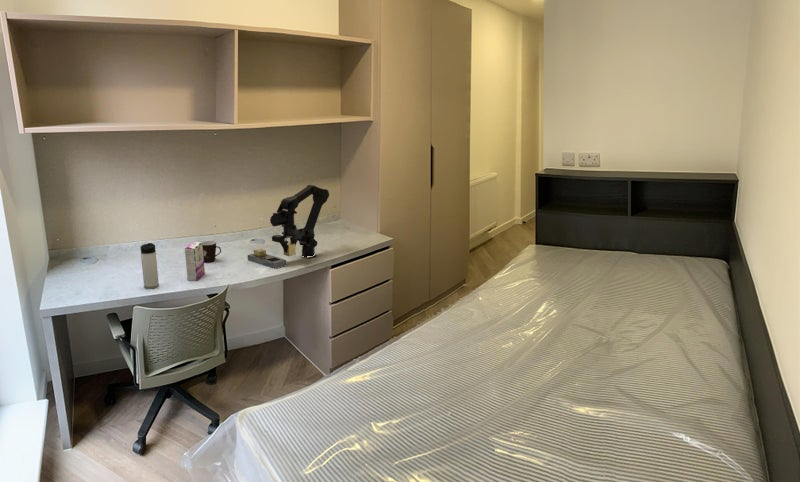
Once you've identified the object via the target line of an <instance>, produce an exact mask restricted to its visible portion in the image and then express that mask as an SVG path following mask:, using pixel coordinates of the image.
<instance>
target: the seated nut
mask: <svg viewBox="0 0 800 482" xmlns="http://www.w3.org/2000/svg"><path fill="white" fill-rule="evenodd" d="M253 253H254V256H256V257H263V256H266V254H267V249H263V248H258V249H253Z"/></svg>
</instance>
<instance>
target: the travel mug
mask: <svg viewBox="0 0 800 482" xmlns="http://www.w3.org/2000/svg"><path fill="white" fill-rule="evenodd" d="M139 247H140V257H141V258H140V259H141V267H142V268H141V269H142V278H143V279H142V280H143V288H144V289H148V290H151V289H152V290H153V289H156V288H158V287H159V286H160V284H159V274H158V259H157V250H156V245H155V243H153V242H149V243H145V244H142V245H141V246H139Z"/></svg>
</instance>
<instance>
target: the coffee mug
mask: <svg viewBox="0 0 800 482" xmlns="http://www.w3.org/2000/svg"><path fill="white" fill-rule="evenodd" d="M201 242H202V246H203V258H204V264H211V263H215V262H216V257H217V256H219V255H220V254H221V253H222V248H221V247H220V246H217V241H215V240H203V241H201ZM217 248H218V249H219V252H218V253H217ZM216 253H217V254H216Z"/></svg>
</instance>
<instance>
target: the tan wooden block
mask: <svg viewBox="0 0 800 482" xmlns="http://www.w3.org/2000/svg"><path fill="white" fill-rule="evenodd" d="M282 249H283V248H282ZM283 255H284V256H286V257H291V256H295V255H296V246H295V244H294V243H291V242H290V241H289V242H288V243H287V253H285V251H284V249H283Z"/></svg>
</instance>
